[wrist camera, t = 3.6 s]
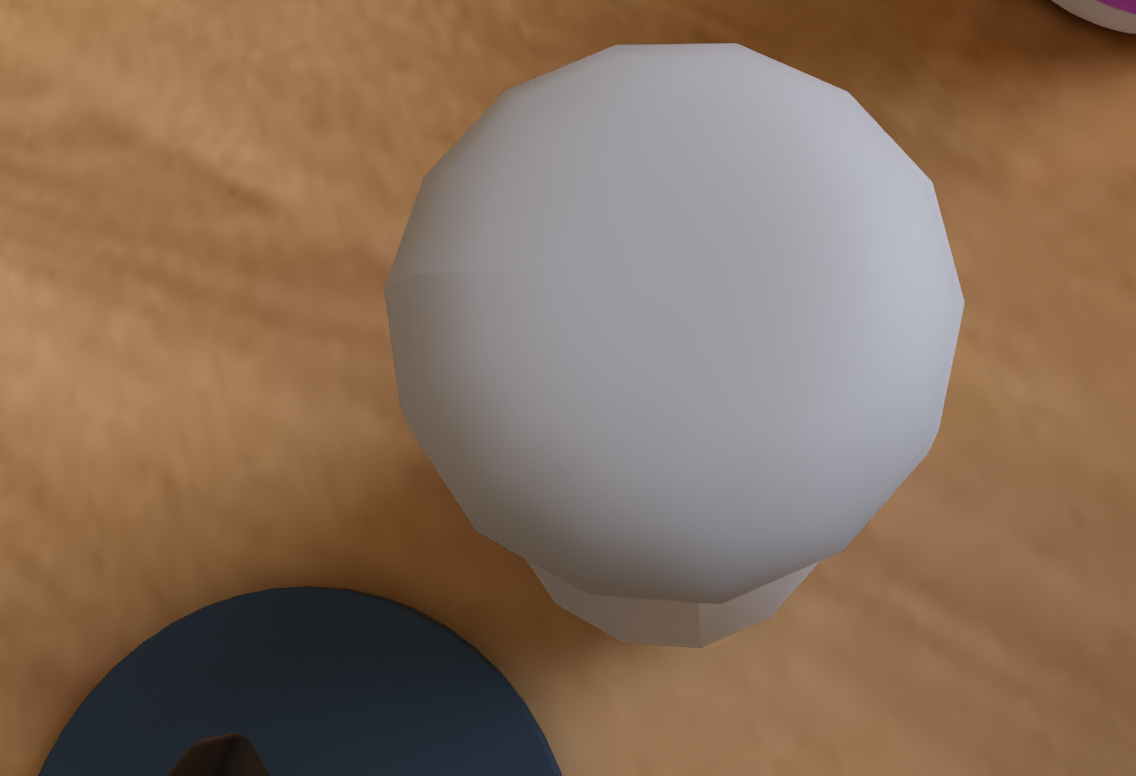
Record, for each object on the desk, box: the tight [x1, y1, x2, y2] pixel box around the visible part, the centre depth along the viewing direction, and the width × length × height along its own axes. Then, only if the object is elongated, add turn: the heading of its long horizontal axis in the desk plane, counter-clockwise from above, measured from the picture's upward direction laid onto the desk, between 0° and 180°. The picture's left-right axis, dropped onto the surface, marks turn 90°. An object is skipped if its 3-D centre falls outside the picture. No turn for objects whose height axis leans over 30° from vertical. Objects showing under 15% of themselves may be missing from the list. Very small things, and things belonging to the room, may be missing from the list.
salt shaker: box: [384, 43, 965, 648], centre depth 12 cm, size 6×6×13 cm
